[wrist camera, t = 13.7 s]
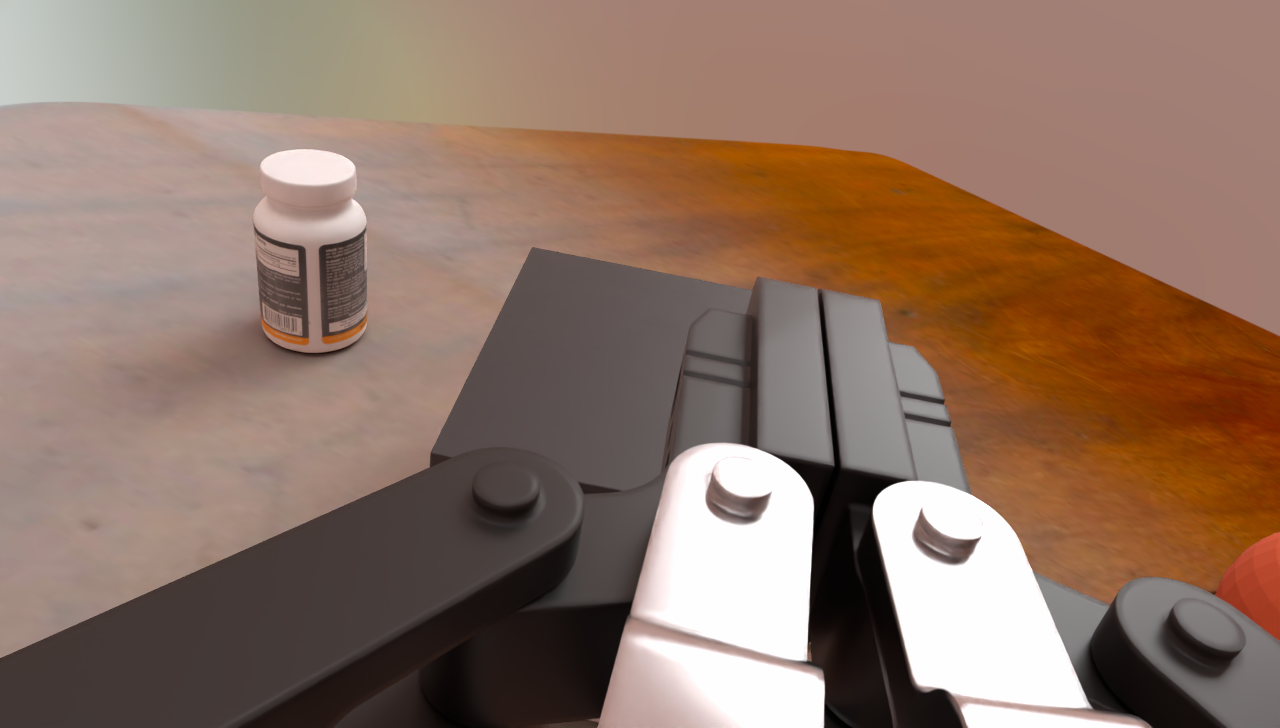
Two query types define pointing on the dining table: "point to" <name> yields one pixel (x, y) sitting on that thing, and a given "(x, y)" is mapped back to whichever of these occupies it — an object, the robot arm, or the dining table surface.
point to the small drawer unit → (583, 368)
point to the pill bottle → (311, 251)
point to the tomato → (1256, 584)
